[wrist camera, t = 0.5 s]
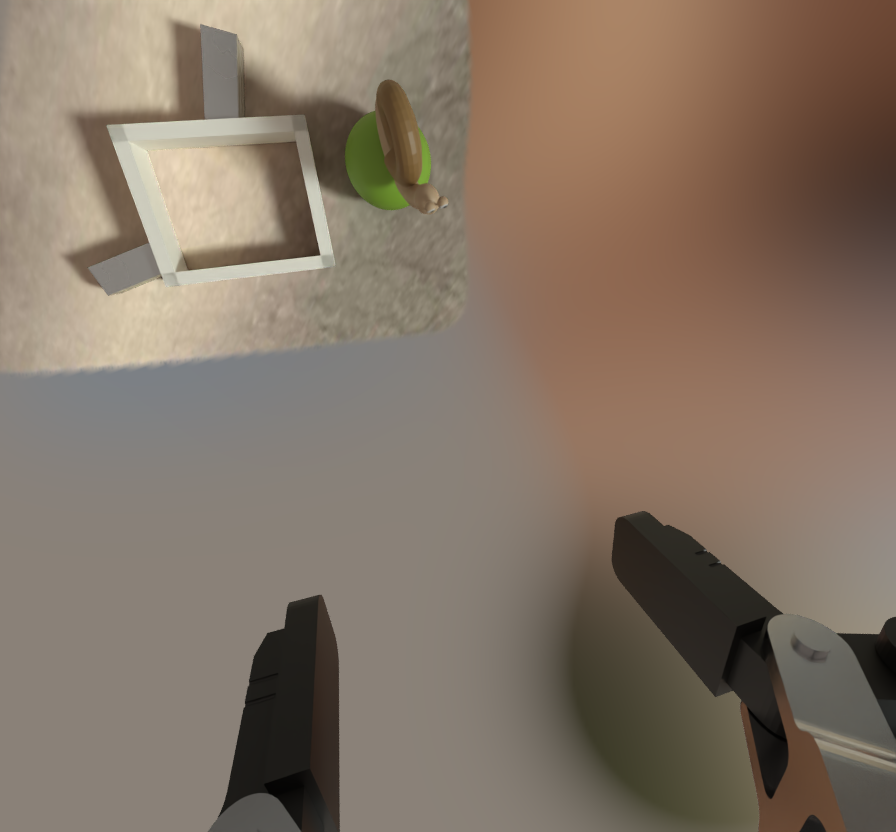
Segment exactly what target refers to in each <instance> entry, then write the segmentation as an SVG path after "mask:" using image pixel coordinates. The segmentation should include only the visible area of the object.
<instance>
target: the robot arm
mask: <svg viewBox="0 0 896 832" xmlns="http://www.w3.org/2000/svg"><path fill="white" fill-rule="evenodd" d="M612 565H613V568H614V571H615V574H616V575H617V578H618V579H619V581H620V582H621V583H622V584H623V586H624V587H625V588H626V589H627V591H628V592H629V593H630V594H631V595H632V597H633V598H634V599H635V600H636V601H637V603H638V604H639V605H640V606H641V607H642V609H643V610H644V611H645V612H646V614H647V615H648V616H649V617H650V618H651V619H652V621H653V622H654V623H655V624H656V625H657V627H658V628H659V629H660V630H661V632H662V633H663V634H664V635H665V637H666V638H667V639H668V640H669V641H670V643H671V644H672V645H673V646H674V647H675V649H676V650H677V651H678V652H679V653H680V655H681V656H682V657H683V658H684V659H685V661H686V662H687V663H688V664H689V665H690V667H691V668H692V669H693V670H694V672H695V673H696V674H697V675H698V677H699V678H700V679H701V680H702V681H703V683H704V684H705V685H706V686H707V687H708V689H709V690H710V691H711V692H712V693H713V695H714V696H715V697H717V696H720V695H722V694H725V693H727V692H730V691H734V692H735V693H736V694H737V695H738V697H739V698H740V699H741V703H740V712H741V717H742V722H743V727H744V732H745V737H746V742H747V748H748V752H749V758H750V762H751V767H752V773H753V778H754V783H755V787H756V793H757V798H758V805H759V827H758V832H896V617H893V618H890V619H888V620H887V621H886V622H885V624H884V626H883V628H882V630H881V632H880V634H840V633H835V632H834V631H832V630H831V629H829V628H828V627H826V626H824V625H822V624H820V623H818V622H816V621H814V620H812V619H809V618H806V617H802V616H799V615H793V614H783V613H782V612H780V611H779V610H778V609H777V608H775V607H774V606H773V605H772V604H771V603H769V602H768V601H767V600H766V599H765V598H763V597H762V596H761V595H760V594H759V593H757V592H756V591H755V590H754V589H753V588H751V587H750V586H749V585H748V584H747V583H746V582H744V581H743V580H742V579H741V578H740V577H738V576H737V575H736V574H735V573H734V572H732V571H731V570H730V569H729V568H728V567H726V566H725V565H722V564H721V562H720V561H719V560H718V559H717V558H716V557H715V556H713V555H712V554H711V553H710V552H709V553H708V552H707V551H706V549H705V548H704V547H703V546H702V545H700V544H699V543H698V542H697V541H696V540H694V539H693V538H692V537H691V536H690V535H688V534H686V533H684V532H682V531H680V530H678V529H676V528H674V527H672V526H670V525H666V526H663V525H662V524H661V523H660V522H659V521H658V520H657V519H655V518H654V517H653V516H652V515H651V514H650V513H647V512H645V511H642V512H638V513H634V514H630V515H626V516H623V517H619V518H618V519H617V520H616V522H615V530H614V540H613V550H612ZM339 817H340V814H339V659H338V649H337V643H336V638H335V634H334V631H333V627H332V624H331V621H330V618H329V615H328V612H327V608H326V605H325V602H324V599H323V597H322V595H317V596H313V597H309V598H306V599H302V600H298V601H294V602H290V603H289V604H288V607H287V614H286V620H285V628H284V629H281V630H277V631H274V632H270V633H267V635H266V637H265V638H264V640H263V642H262V644H261V645H260V647H259V649H258V651H257V652H256V654H255V656H254V659H253V664H252V669H251V674H250V679H249V686H248V689H247V695H246V699H245V708H244V710H243V715H242V720H241V725H240V730H239V735H238V740H237V745H236V750H235V755H234V760H233V766H232V770H231V775H230V780H229V786H228V791H227V795H226V798H225V802H224V805H223V807H222V810H221V812H220V815H219V816H218V819H217V820H216V821H215V822H214V824H213V825H212V827H211V828H210V830H209V831H208V832H340V829H339V828H340V823H339V822H340V819H339Z"/></svg>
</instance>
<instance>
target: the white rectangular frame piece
mask: <svg viewBox="0 0 896 832" xmlns="http://www.w3.org/2000/svg"><path fill="white" fill-rule="evenodd" d="M200 28H201V49H202V71H203V93H204V115H205V119H206V120H190V121H171V122H152V123H133V124H114V125H106V126H107V129H108V132H109V134H110V137H111V140H112V142H113V145H114V148H115V151H116V153H117V156H118V159H119V161H120V164H121V167H122V170H123V172H124V175H125V178H126V180H127V183H128V186H129V189H130V191H131V194H132V197H133V199H134V202H135V205H136V208H137V210H138V213H139V216H140V219H141V221H142V224H143V227H144V229H145V232H146V235H147V238H148V240H149V243H147V244H144V245H142V246H140V247H137V248H135V249H132V250H130V251H127V252H125V253H122V254H120V255H117V256H115V257H112V258H110V259H107V260H105V261H102V262H100V263H98V264H95V265H93V266H90V267H88V269H89V270H90V272H91V273H92V274H93V276H94V277H95V278H96V280H97V281H98V282H99V284H100V285H101V286H102V288H103V289H104V291H105V292H106V293H107V295H108V296H109V295H114V294H120V293H123V292H126V291H128V290H131V289H133V288H135V287H138V286H140V285H143V284H145V283H148V282H150V281H152V280H155V279H157V278H160V277H162V278H163V281H164V284H165V286H166V287H171V286H180V285H188V284H196V283H205V282H213V281H221V280H229V279H238V278H246V277H254V276H262V275H271V274H279V273H287V272H295V271H304V270H312V269H320V268H329V267H335V266H336V265H335V260H334V255H333V250H332V245H331V240H330V235H329V230H328V225H327V221H326V216H325V211H324V206H323V201H322V196H321V191H320V186H319V181H318V176H317V171H316V166H315V161H314V156H313V152H312V147H311V142H310V137H309V132H308V127H307V123H306V119H305V115H285V116H266V117H247V118H245V111H244V54H243V47H242V45H241V43H240V41H239V39H238V36H237V34H233V33H230V32H226V31H223V30H219V29H216V28H212V27H209V26H205V25H202V24H200ZM282 142H296V143H297V148H298V152H299V157H300V162H301V166H302V171H303V176H304V180H305V185H306V190H307V194H308V199H309V204H310V208H311V213H312V218H313V222H314V227H315V232H316V236H317V241H318V245H319V250H320V256H311V257H303V258H294V259H285V260H277V261H268V262H259V263H251V264H242V265H233V266H225V267H216V268H207V269H199V270H190V271H188V269H187V266H186V263H185V260H184V257H183V254H182V251H181V248H180V245H179V243H178V240H177V237H176V234H175V231H174V228H173V225H172V222H171V219H170V216H169V213H168V210H167V207H166V204H165V202H164V199H163V196H162V193H161V190H160V187H159V184H158V181H157V178H156V175H155V172H154V169H153V166H152V163H151V161H150V158H149V155H148V152H147V151H157V150H173V149H189V148H204V147H220V146H235V145H251V144H266V143H282Z"/></svg>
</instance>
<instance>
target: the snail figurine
mask: <svg viewBox="0 0 896 832" xmlns="http://www.w3.org/2000/svg"><path fill="white" fill-rule="evenodd" d="M345 164H346V169H347V173H348V176H349V179H350V181H351V183H352V185H353V187H354V188H355V190H356V191H357V192H358V194H359V195H360V196H361V197H362V198H363V199H364V200H366V201H367V202H368V203H370V204H371V205H373V206H375V207H378V208H381V209H385V210H398V209H402V208H405V207H407V206H409V205H411V206H412V207H414V208H416V209H418V210H419V211H420V212H421V213H423V214H433V213H434V212H436V210H437V209H438V207H439V208H445V207H447V205H448V199H447V198H446V197H444V196H442V197H439V194H438V192H437V190H436V189H435V187H433V186H432V185H431V184H428V180H429V176H430V170H431V157H430V151H429V147H428V144H427V141H426V139H425V137H424V135H423V133H422V132H421V130H420V129H419V127H418V125H417V122H416V119H415V115H414V113H413V110H412V108H411V106H410V103H409V101H408V98H407V96H406V94H405V92H404V90H403V89H402V88H401V86H400V85H399V84H398V83H397V82H395V81H393V80H385V81H383V82H382V83H381V84H380V85H379V87H378V89H377V94H376V103H375V111H373V112H370V113H368V114H366V115H365V116H363V117H362V118H361V119H360V120H359V121H358V122H357V123H356V124H355V125H354V127H353V128H352V130H351V132H350V134H349V136H348V139H347V143H346V148H345Z"/></svg>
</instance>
